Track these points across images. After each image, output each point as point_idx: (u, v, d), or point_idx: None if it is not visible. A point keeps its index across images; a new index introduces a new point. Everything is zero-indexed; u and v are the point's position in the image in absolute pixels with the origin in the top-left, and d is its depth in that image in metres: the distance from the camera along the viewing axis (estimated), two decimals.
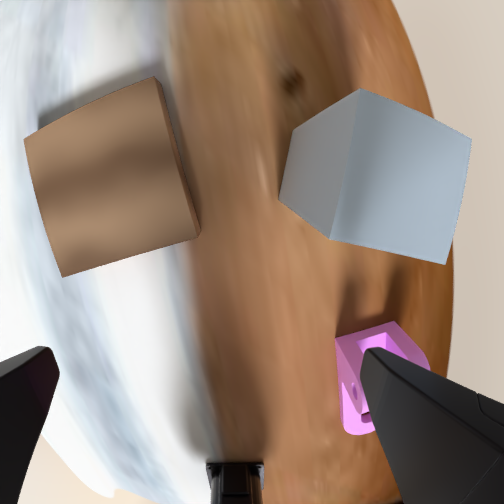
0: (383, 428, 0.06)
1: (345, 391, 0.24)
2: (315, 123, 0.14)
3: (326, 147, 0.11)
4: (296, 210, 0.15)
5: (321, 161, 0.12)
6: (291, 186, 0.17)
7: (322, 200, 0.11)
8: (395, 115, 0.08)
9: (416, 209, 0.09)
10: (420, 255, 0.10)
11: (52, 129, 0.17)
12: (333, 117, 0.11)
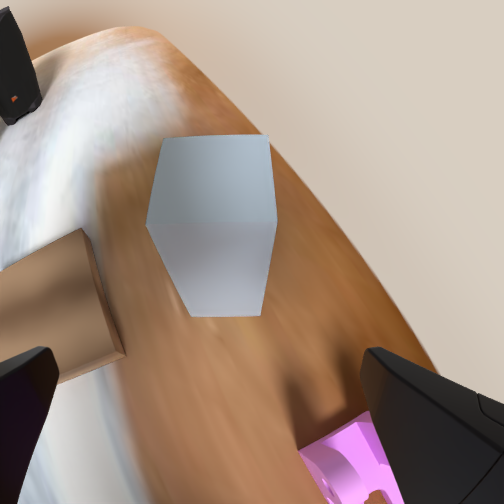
0: (383, 428, 0.06)
1: None
2: None
3: None
4: None
5: None
6: None
7: None
8: (190, 143, 0.13)
9: (222, 188, 0.12)
10: (240, 219, 0.11)
11: (10, 270, 0.20)
12: None
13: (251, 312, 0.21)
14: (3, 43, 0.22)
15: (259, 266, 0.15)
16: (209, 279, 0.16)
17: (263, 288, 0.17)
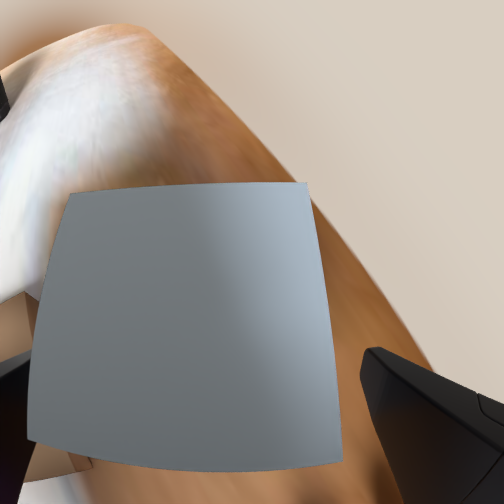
0: (383, 428, 0.06)
1: None
2: None
3: None
4: None
5: None
6: None
7: None
8: (122, 207, 0.06)
9: (192, 364, 0.04)
10: (245, 463, 0.03)
11: None
12: None
13: None
14: None
15: None
16: None
17: None
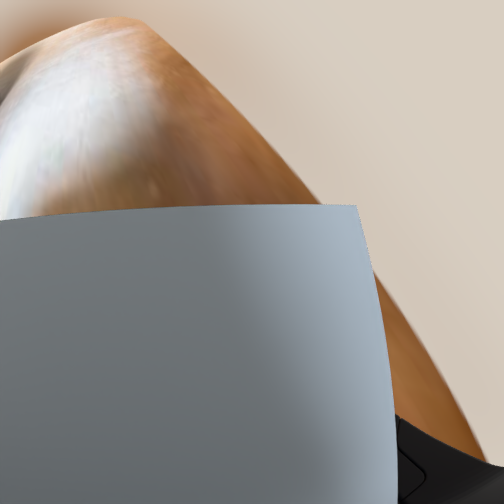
0: None
1: None
2: None
3: None
4: None
5: None
6: None
7: None
8: (51, 248, 0.03)
9: None
10: None
11: None
12: None
13: None
14: None
15: None
16: None
17: None
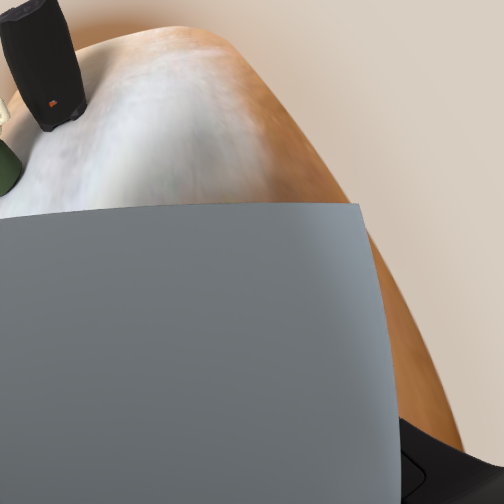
0: None
1: None
2: None
3: None
4: None
5: None
6: None
7: None
8: (54, 245, 0.03)
9: None
10: None
11: None
12: None
13: None
14: (42, 35, 0.21)
15: None
16: None
17: None
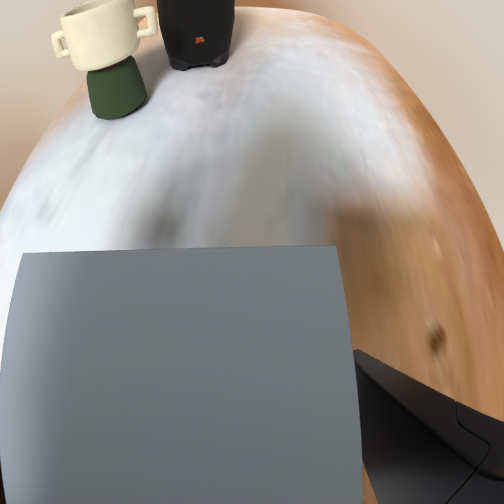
0: None
1: None
2: None
3: None
4: None
5: None
6: None
7: None
8: (83, 281, 0.04)
9: (186, 503, 0.03)
10: None
11: None
12: None
13: None
14: None
15: None
16: None
17: None
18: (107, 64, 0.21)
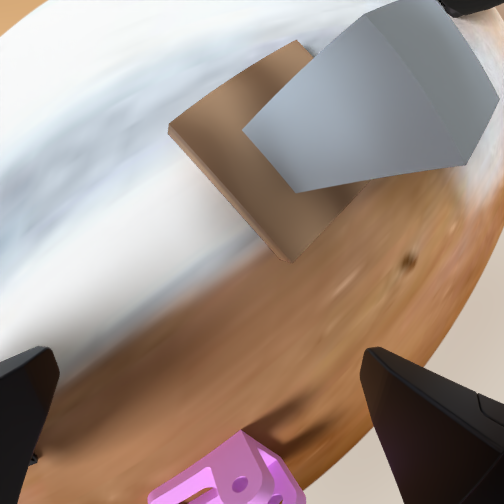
0: (383, 428, 0.06)
1: (197, 475, 0.19)
2: None
3: None
4: None
5: None
6: None
7: None
8: (447, 21, 0.07)
9: (449, 81, 0.07)
10: (445, 121, 0.07)
11: None
12: None
13: (295, 183, 0.17)
14: None
15: (378, 166, 0.10)
16: (319, 121, 0.11)
17: (343, 182, 0.13)
18: None
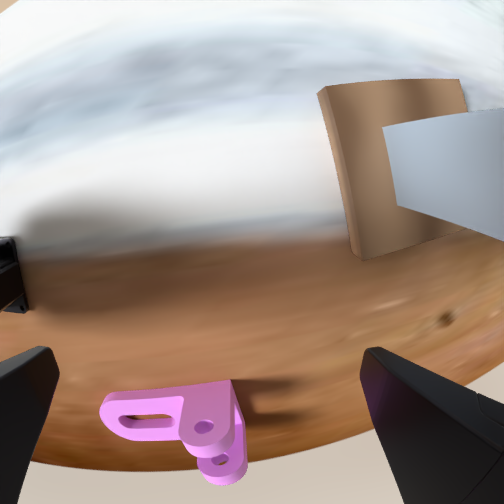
0: (383, 428, 0.06)
1: (167, 399, 0.22)
2: None
3: None
4: (446, 115, 0.10)
5: None
6: None
7: None
8: None
9: None
10: None
11: None
12: None
13: (403, 196, 0.17)
14: None
15: (484, 222, 0.10)
16: (458, 159, 0.10)
17: (446, 218, 0.13)
18: None
